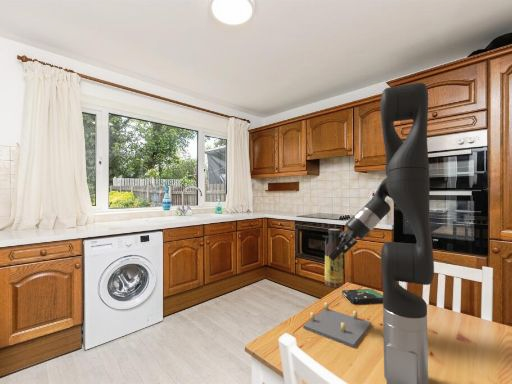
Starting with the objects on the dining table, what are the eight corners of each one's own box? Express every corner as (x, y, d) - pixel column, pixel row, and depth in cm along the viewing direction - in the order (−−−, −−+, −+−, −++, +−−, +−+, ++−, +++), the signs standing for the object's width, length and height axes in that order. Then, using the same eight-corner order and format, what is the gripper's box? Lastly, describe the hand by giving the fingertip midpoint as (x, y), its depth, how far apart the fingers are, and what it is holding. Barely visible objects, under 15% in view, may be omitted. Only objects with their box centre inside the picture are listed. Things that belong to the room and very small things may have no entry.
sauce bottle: (330, 289, 86) (329, 231, 86) (321, 283, 92) (320, 228, 92) (347, 287, 87) (346, 230, 87) (337, 281, 93) (336, 227, 94)
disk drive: (353, 306, 103) (386, 303, 105) (353, 299, 103) (386, 297, 105) (341, 296, 114) (372, 294, 115) (341, 290, 114) (372, 287, 115)
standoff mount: (353, 347, 74) (353, 335, 74) (303, 328, 85) (303, 318, 85) (371, 325, 87) (371, 315, 87) (325, 310, 98) (325, 301, 98)
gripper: (349, 213, 96) (318, 244, 97) (360, 217, 82) (324, 253, 83) (363, 227, 96) (332, 258, 97) (378, 233, 81) (341, 269, 82)
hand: (328, 256), depth 90 cm, fingers closed on sauce bottle, 6 cm apart
